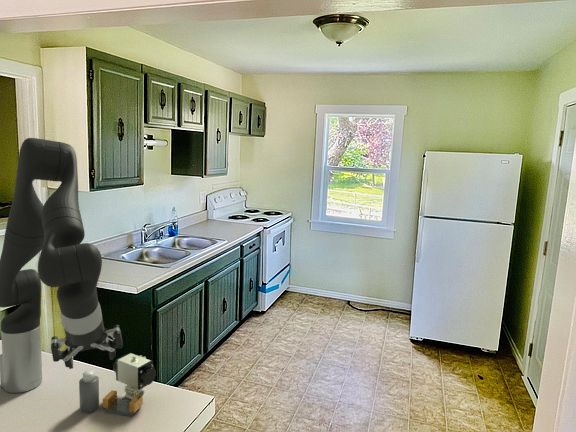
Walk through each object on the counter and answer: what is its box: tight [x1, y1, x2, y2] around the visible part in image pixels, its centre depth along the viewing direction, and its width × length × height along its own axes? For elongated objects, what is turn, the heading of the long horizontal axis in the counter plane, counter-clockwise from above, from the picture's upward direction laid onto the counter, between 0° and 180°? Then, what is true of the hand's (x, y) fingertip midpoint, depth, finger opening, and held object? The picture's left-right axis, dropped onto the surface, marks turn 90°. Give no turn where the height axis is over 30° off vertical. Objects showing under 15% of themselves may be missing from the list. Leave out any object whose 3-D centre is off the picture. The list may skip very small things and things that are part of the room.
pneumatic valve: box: [112, 352, 157, 401], centre depth 114 cm, size 6×12×12 cm, turn 63°
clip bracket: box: [102, 390, 144, 418], centre depth 109 cm, size 9×5×4 cm, turn 80°
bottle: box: [78, 369, 100, 415], centre depth 108 cm, size 5×5×10 cm
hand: (91, 361), depth 97 cm, fingers open, 8 cm apart
